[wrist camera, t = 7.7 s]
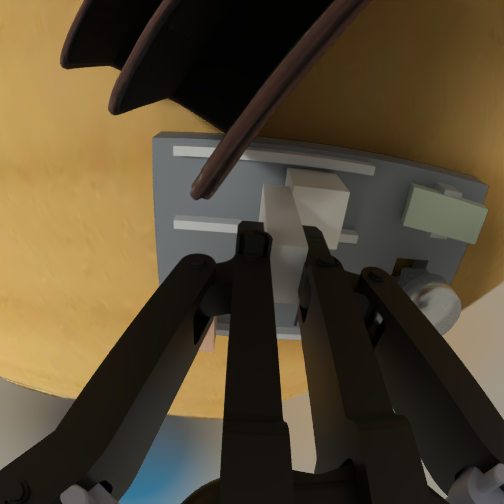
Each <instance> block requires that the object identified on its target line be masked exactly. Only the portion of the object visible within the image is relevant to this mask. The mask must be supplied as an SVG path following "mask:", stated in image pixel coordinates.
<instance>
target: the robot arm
mask: <svg viewBox="0 0 504 504" xmlns="http://www.w3.org/2000/svg"><path fill="white" fill-rule="evenodd" d="M298 296H299V305H298V309H297V313H296V317H295V321H294V326H297V322H298V321H299V327H300V334H301V340H302V347H303V354H304V361H305V368H306V375H307V383H308V390H309V397H310V405H311V413H312V420H313V429H314V437H315V446H316V455H317V461H316V466H315V471H314V474H312V473H305V472H300V471H295V470H292V463H291V448H290V435H289V428H288V425H287V423H286V422H284V420H283V414H282V400H281V386H280V372H279V359H278V346H277V334H276V321H275V309H274V303H285V304H296V301H297V297H298ZM225 314H230V327H229V341H228V355H227V370H226V385H225V400H224V416H223V434H222V451H221V470H220V478H218V479H216V480H213V481H211V482H209V483H207V484H205V485H203V486H201V487H200V488H199V489H197V490H196V491H194V492H193V493H192V494H191V495H190V496H189V497H187V498H186V499H185V500H184V501H183V502H182V503H181V504H504V420H503V418H502V417H501V415H500V414H499V412H498V411H497V410H496V408H495V407H494V405H493V404H492V402H491V401H490V399H489V398H488V397H487V396H486V394H485V392H484V391H483V390H482V388H481V387H480V385H479V384H478V383H477V381H476V380H475V379H474V377H473V376H472V375H471V373H470V372H469V370H468V369H467V368H466V367H465V366H464V364H463V363H462V361H461V360H460V359H459V357H458V356H457V355H456V353H455V352H454V351H453V350H452V348H451V347H450V346H449V344H448V343H447V342H446V341H445V339H444V338H443V337H442V336H441V334H440V333H439V332H438V331H437V330H436V328H435V327H434V326H433V325H432V323H431V322H430V321H429V320H428V319H427V317H426V316H425V315H424V314H423V313H422V311H421V310H420V309H419V308H418V307H417V305H416V304H415V303H414V302H413V301H412V300H411V298H410V297H409V296H408V295H407V294H406V293H405V292H404V290H403V289H402V288H401V287H400V286H399V285H398V284H397V282H396V281H395V280H394V279H393V278H392V277H391V276H390V275H389V274H388V273H387V272H386V271H384V270H382V269H381V268H377V267H369V266H368V267H364V268H363V269H362V270H361V273H360V275H359V274H355V273H352V272H348V271H346V270H344V268H343V266H342V263H341V262H340V261H339V260H338V259H337V258H335V257H334V256H331V254H330V251H329V248H328V246H327V244H326V241H325V239H324V236H323V233H322V231H320V230H319V229H318V228H317V227H316V226H306V225H302V224H301V220H300V217H299V214H298V210H297V207H296V204H295V201H294V197H293V195H292V192H291V188H290V186H282V185H272V184H263V189H262V197H261V206H260V214H259V222H255V221H244V220H242V221H241V222H240V223H239V224H238V228H237V238H236V250H235V255H234V257H233V258H232V259H230V260H228V261H225V262H221V263H216V262H215V260H214V259H213V258H212V257H211V256H209V255H206V254H200V253H194V254H189V255H187V256H184V257H183V258H182V259H181V260H180V261H179V262H178V264H177V265H176V266H175V267H174V269H173V270H172V271H171V272H170V274H169V275H168V276H167V277H166V279H165V280H164V281H163V283H162V284H161V285H160V286H159V288H158V289H157V290H156V291H155V293H154V294H153V295H152V297H151V298H150V299H149V301H148V302H147V303H146V304H145V306H144V307H143V308H142V310H141V311H140V312H139V314H138V315H137V316H136V318H135V319H134V320H133V321H132V323H131V324H130V325H129V327H128V328H127V329H126V331H125V332H124V333H123V335H122V336H121V337H120V339H119V340H118V342H117V343H116V344H115V346H114V347H113V348H112V350H111V351H110V352H109V354H108V355H107V357H106V358H105V359H104V361H103V362H102V363H101V365H100V366H99V368H98V369H97V370H96V372H95V373H94V375H93V376H92V377H91V379H90V380H89V382H88V383H87V384H86V386H85V387H84V389H83V390H82V392H81V393H80V394H79V396H78V397H77V399H76V400H75V402H74V403H73V405H72V406H71V408H70V409H69V410H68V412H67V413H66V415H65V416H64V418H63V419H62V421H61V422H60V424H59V425H58V427H57V428H56V430H55V431H54V432H52V433H51V434H49V435H48V436H47V437H45V438H44V439H43V440H41V441H40V442H38V443H37V444H36V445H34V446H33V447H32V448H30V449H29V450H28V451H26V452H25V453H24V454H22V455H21V456H19V457H18V458H16V459H15V460H14V461H12V462H11V463H10V464H8V465H7V466H5V467H4V468H3V469H2V470H0V504H119V502H118V501H119V500H120V499H121V497H122V496H123V495H124V494H125V492H126V491H127V490H128V488H129V487H130V485H131V484H132V482H133V480H134V478H135V477H136V475H137V473H138V471H139V469H140V467H141V465H142V463H143V460H144V459H145V457H146V455H147V453H148V451H149V449H150V447H151V445H152V443H153V441H154V439H155V436H156V435H157V433H158V431H159V429H160V426H161V425H162V423H163V420H164V419H165V417H166V415H167V413H168V411H169V408H170V406H171V404H172V402H173V400H174V398H175V396H176V394H177V392H178V390H179V388H180V386H181V384H182V382H183V380H184V378H185V376H186V374H187V372H188V370H189V368H190V366H191V364H192V362H193V360H194V358H195V356H196V354H197V352H198V350H199V348H200V346H201V344H202V342H203V340H204V338H205V336H206V334H207V332H208V330H209V328H210V326H211V324H212V322H213V320H214V316H219V315H225ZM379 314H380V316H381V317H382V319H383V320H382V322H381V324H380V323H379V322H378V321H377V317H378V315H379ZM393 409H394V411H395V413H396V414H395V413H394V411H393ZM421 459H422V461H423V463H424V465H425V467H426V469H427V470H428V472H429V473H430V475H431V476H432V478H433V480H434V481H435V482H436V484H437V485H438V486H439V487H440V489H441V490H442V491H443V492H444V493H445V494H446V495H447V496H448V497H447V498H446V499H444V498H443V497H441V496H440V495H439V494H438V493H436V492H435V491H434V490H433V489H432V488H430V487H429V486H428V485H427V481H426V477H425V473H424V469H423V466H422V462H421Z"/></svg>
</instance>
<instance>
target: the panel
mask: <svg viewBox="0 0 504 504" xmlns="http://www.w3.org/2000/svg"><path fill="white" fill-rule="evenodd" d="M224 135H225V134H216V133H196V132H160V133H158V134H157V135H156V136H154V137H153V195H154V217H155V235H156V249H157V262H158V274H159V284H160V285H161V284H162V283H163V281H164V280H165V279H166V277H167V276H168V275H169V274H170V272H171V271H172V270H173V269H174V267H175V266H176V265H177V264H178V262H179V261H180V260H181V259H182V258H183V257H184V256H187V255H189V254H194V253H200V254H206V255H209V256H211V257H212V258H213V259H214V260H215V262H216V263H221V262H225V261H228V260H230V259H232V258H233V257H234V255H235V250H236V238H237V228H238V224H239V223H240V222H241V221H242V220H244V221H255V222H259V214H260V206H261V197H262V189H263V184H272V185H282V186H285V182H286V175H287V167H289V168H298V169H306V170H314V171H322V172H330V173H336V174H337V176H338V177H339V178H340V179H341V181H342V182H343V183H344V185H345V186H346V187H347V189H348V190H349V192H350V195H349V199H348V204H347V208H346V212H345V217H344V221H343V225H342V229H341V233H340V238H339V242H338V246H337V250H334V249H329V251H330V254H331V256H334V257H335V258H337V259H338V260H339V261H340V262H341V263H342V266H343V268H344V270H346V271H348V272H352V273H355V274H359V275H360V273H361V270H362V269H363V268H364V267H368V266H369V267H377V268H381V269H382V270H384V271H386V272H387V273H388V274H389V275H390V276H391V274H392V271H393V269H394V266H395V263H396V260H397V258H405V259H414V262H413V264H412V267H411V268H421V269H427V271H428V272H429V273H436V274H440V275H442V276H443V277H444V278H445V279H446V280H447V282H448V283H449V284H450V285H451V283H452V280H453V278H454V276H455V274H456V272H457V269H458V267H459V265H460V263H461V260H462V258H463V256H464V253H465V251H466V248H467V246H468V243H470V244H474V245H475V244H476V241H477V239H478V236H479V234H480V231H481V229H482V226H483V223H484V220H485V218H486V215H487V212H488V209H487V208H486V207H485V206H484V205H483V202H484V199H485V196H486V193H487V190H488V187H489V186H488V185H486V184H485V183H483V182H482V181H480V180H479V179H477V178H476V177H473V176H470V175H466V174H463V173H459V172H456V171H452V170H448V169H444V168H440V167H436V166H432V165H428V164H424V163H420V162H416V161H411V160H407V159H402V158H397V157H393V156H388V155H383V154H378V153H372V152H367V151H361V150H356V149H350V148H344V147H338V146H331V145H324V144H318V143H310V142H303V141H295V140H286V139H277V138H267V137H257V136H256V137H255V139H254V140H253V141H252V142H251V144H250V145H249V146H248V147H247V149H246V150H245V152H244V153H243V155H242V156H241V158H240V159H239V161H238V162H237V163H236V165H235V166H234V167H233V169H232V170H231V172H230V173H229V174H228V176H227V177H226V178H225V180H224V181H223V183H222V184H221V185H220V187H219V188H218V190H217V191H216V192H215V194H214V195H213V196H212V197H211V198H210V199H209V200H206V199H203V198H201V199H199V200H194V199H193V198H192V197H191V196H190V191H191V185H192V184H193V183H194V181H195V180H196V177H198V175H199V173H200V172H201V169H202V168H203V166H204V165H205V163H206V162H207V160H208V158H209V157H210V156H211V154H212V153H213V151H214V150H215V149H216V147H217V145H218V144H219V143H220V141H221V139H222V138H223V137H224ZM391 277H392V278H393V279H394V280H395V281H396V282H398V279H399V276H391ZM298 305H299V296H298V297H297V301H296V304H285V303H274V309H275V321H276V334H277V339H291V340H301V334H300V327H299V321H298V322H297V326H294V321H295V317H296V313H297V309H298ZM382 320H383V319H382V317H381V316H380V314H379V315H378V317H377V321H378V322H379V323H380V324H381V322H382ZM229 327H230V314H225V315H219V316H217V328H216V335H223V336H229Z"/></svg>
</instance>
